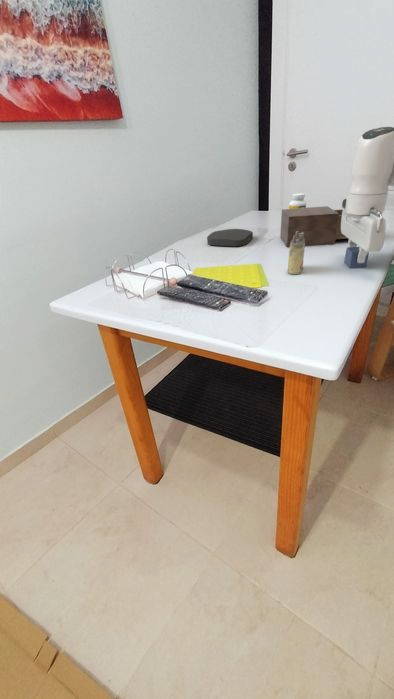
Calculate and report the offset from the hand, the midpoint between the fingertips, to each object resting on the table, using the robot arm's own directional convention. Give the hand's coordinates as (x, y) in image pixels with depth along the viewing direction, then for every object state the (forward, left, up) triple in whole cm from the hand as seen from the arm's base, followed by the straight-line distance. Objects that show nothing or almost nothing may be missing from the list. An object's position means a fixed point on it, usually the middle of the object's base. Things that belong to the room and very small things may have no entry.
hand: (355, 258), depth 92 cm
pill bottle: (-14, -49, -2) cm, 51 cm away
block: (0, 0, -2) cm, 2 cm away
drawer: (-15, -24, -1) cm, 28 cm away
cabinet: (-4, -28, -2) cm, 28 cm away
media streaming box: (+18, -43, -2) cm, 47 cm away
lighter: (+16, -5, -2) cm, 17 cm away
